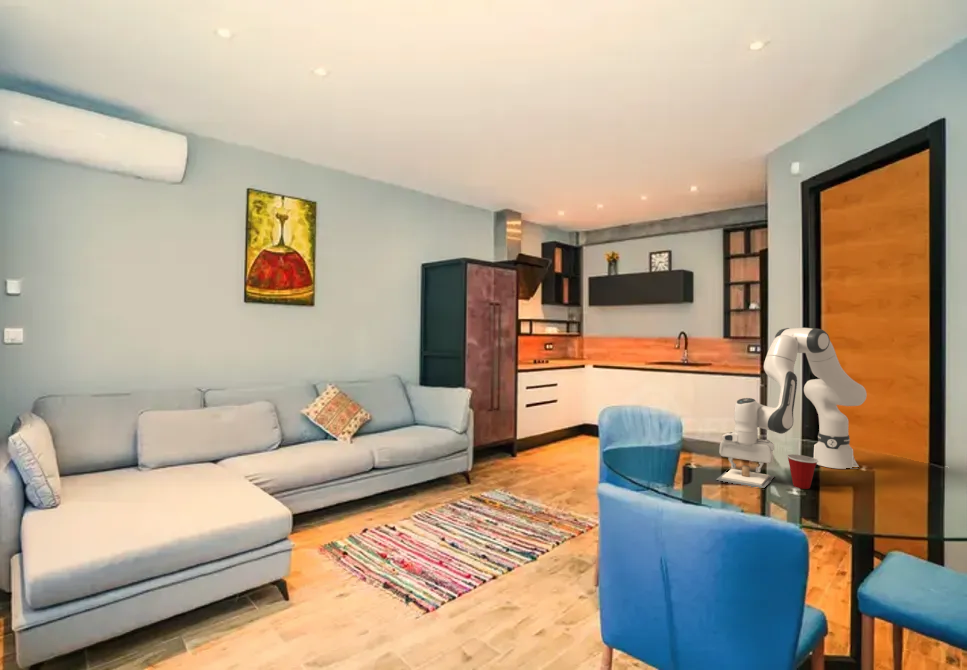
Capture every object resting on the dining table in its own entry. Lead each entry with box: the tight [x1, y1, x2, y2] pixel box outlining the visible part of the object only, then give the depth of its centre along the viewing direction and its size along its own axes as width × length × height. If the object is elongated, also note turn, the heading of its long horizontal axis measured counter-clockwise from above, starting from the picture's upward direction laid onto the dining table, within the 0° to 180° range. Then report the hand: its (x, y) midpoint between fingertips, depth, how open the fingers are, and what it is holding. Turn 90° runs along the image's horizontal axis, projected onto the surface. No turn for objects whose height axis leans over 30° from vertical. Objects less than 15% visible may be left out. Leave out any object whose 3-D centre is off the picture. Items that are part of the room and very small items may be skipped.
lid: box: [722, 464, 770, 486], centre depth 217 cm, size 15×15×5 cm
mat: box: [715, 468, 776, 489], centre depth 217 cm, size 20×18×1 cm
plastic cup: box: [786, 453, 818, 490], centre depth 206 cm, size 11×11×12 cm
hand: (745, 469), depth 217 cm, fingers open, 8 cm apart
